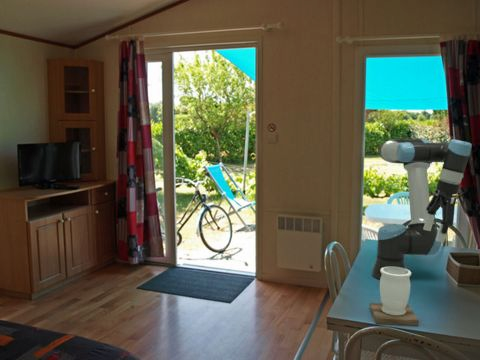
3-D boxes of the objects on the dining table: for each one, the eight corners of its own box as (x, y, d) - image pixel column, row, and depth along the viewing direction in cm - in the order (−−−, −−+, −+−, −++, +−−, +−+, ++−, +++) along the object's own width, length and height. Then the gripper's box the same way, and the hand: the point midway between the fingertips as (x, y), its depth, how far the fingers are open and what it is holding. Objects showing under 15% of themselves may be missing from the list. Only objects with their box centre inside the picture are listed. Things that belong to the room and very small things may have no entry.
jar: (408, 319, 160) (410, 277, 158) (376, 314, 164) (379, 273, 162) (409, 308, 170) (411, 268, 168) (379, 303, 173) (381, 264, 172)
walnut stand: (369, 308, 175) (369, 302, 174) (408, 309, 173) (408, 304, 173) (376, 323, 161) (376, 318, 161) (418, 326, 159) (418, 320, 159)
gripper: (474, 191, 160) (456, 248, 164) (446, 177, 185) (431, 227, 189) (453, 186, 160) (435, 244, 164) (427, 173, 185) (412, 224, 189)
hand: (433, 235), depth 177 cm, fingers open, 13 cm apart
